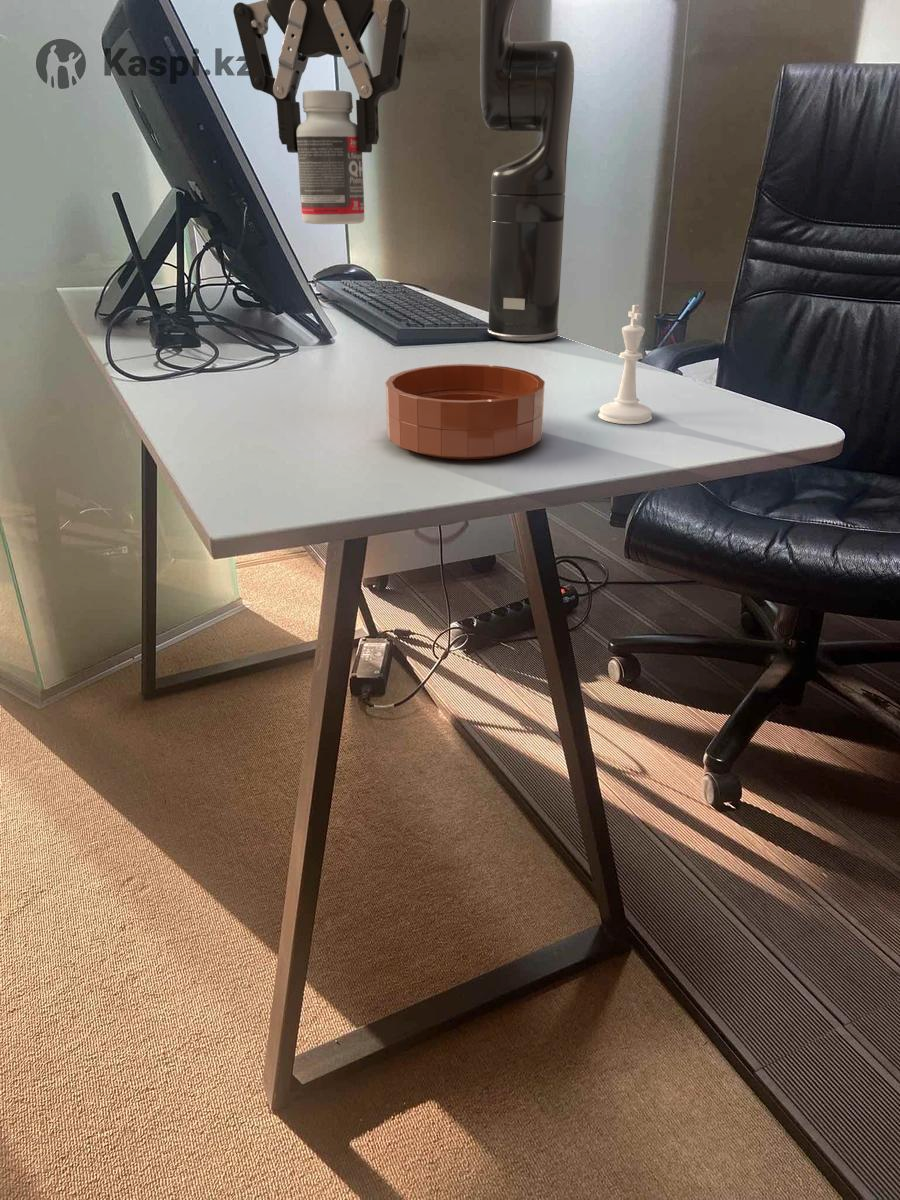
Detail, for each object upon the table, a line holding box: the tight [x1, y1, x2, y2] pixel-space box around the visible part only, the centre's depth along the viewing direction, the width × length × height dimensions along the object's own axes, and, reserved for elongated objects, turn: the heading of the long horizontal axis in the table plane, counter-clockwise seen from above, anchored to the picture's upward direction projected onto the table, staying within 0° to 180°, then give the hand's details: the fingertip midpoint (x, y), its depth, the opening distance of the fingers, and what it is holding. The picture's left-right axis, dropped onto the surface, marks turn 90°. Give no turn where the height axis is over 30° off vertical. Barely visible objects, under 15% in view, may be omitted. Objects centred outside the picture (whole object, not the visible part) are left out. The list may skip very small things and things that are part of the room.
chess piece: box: [598, 304, 653, 425], centre depth 78 cm, size 5×5×10 cm
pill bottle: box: [296, 89, 365, 225], centre depth 71 cm, size 5×5×10 cm
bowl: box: [384, 363, 546, 460], centre depth 73 cm, size 13×13×5 cm
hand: (329, 151), depth 71 cm, fingers closed on pill bottle, 5 cm apart
